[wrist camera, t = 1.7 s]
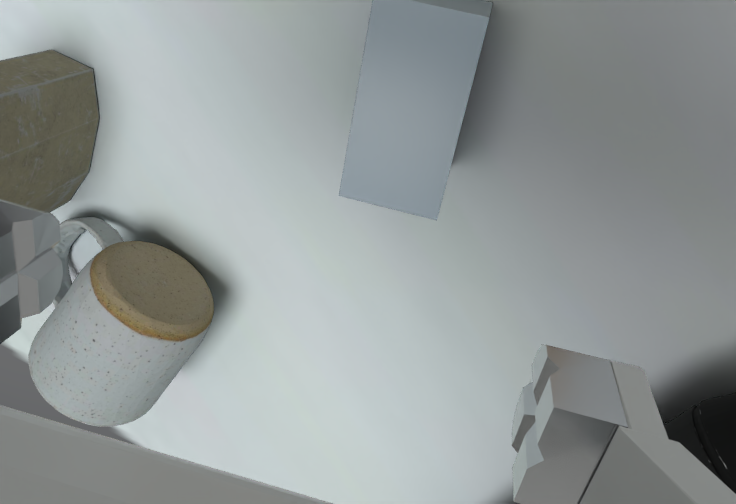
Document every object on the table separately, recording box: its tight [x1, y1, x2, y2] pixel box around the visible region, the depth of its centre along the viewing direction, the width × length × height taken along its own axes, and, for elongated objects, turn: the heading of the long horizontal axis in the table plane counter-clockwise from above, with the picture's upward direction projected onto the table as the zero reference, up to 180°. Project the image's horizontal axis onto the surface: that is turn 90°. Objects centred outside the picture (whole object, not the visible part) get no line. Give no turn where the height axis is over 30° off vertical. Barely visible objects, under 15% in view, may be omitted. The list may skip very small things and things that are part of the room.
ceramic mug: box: [29, 217, 214, 427], centre depth 34 cm, size 11×8×8 cm
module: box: [339, 0, 493, 220], centre depth 26 cm, size 4×8×7 cm, turn 170°
